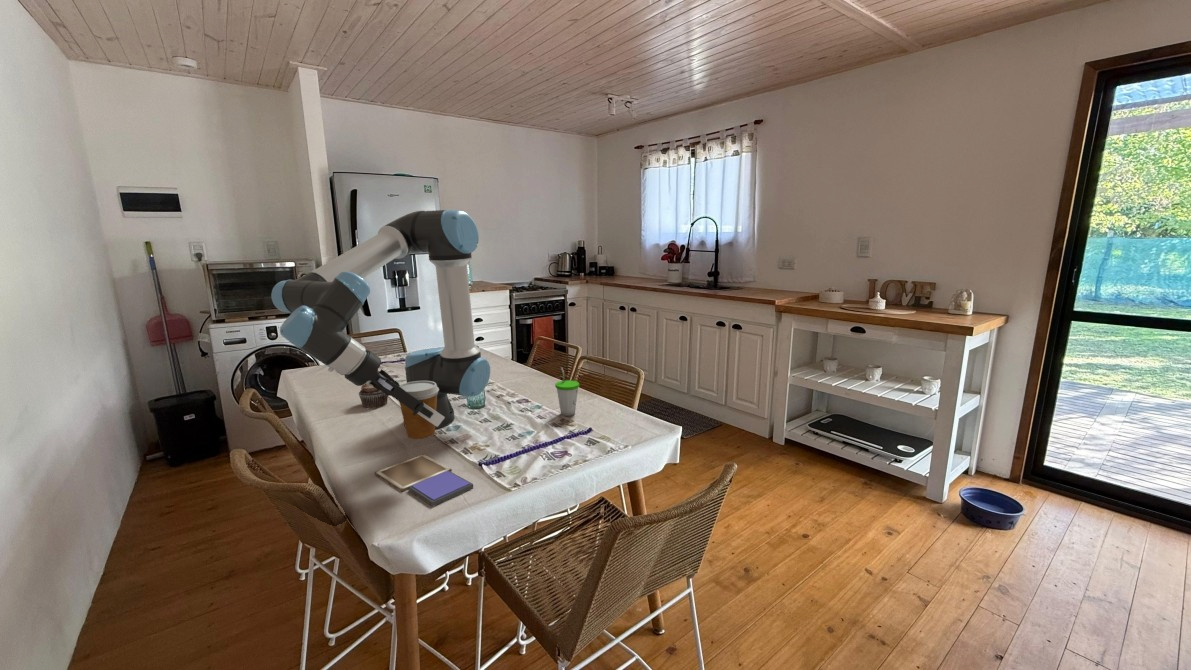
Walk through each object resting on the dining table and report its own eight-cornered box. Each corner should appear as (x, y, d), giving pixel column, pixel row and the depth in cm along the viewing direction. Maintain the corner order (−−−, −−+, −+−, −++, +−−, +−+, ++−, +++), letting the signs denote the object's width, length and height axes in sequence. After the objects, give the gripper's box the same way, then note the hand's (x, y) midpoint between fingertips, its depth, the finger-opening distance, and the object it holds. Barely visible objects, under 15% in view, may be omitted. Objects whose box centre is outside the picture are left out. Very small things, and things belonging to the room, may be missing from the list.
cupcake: (360, 402, 173) (357, 375, 171) (389, 398, 177) (387, 372, 175) (359, 411, 164) (356, 382, 162) (390, 406, 168) (388, 379, 166)
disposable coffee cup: (446, 425, 122) (443, 379, 119) (435, 441, 112) (431, 391, 110) (407, 426, 121) (403, 380, 119) (393, 442, 112) (389, 392, 110)
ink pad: (448, 474, 120) (448, 469, 120) (473, 487, 114) (473, 483, 114) (408, 490, 113) (408, 485, 113) (433, 506, 106) (432, 501, 106)
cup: (579, 418, 157) (578, 373, 154) (554, 418, 157) (553, 373, 154) (580, 409, 164) (579, 366, 161) (557, 409, 164) (556, 366, 161)
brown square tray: (423, 455, 130) (423, 453, 130) (451, 471, 122) (451, 468, 122) (375, 474, 121) (374, 471, 121) (401, 491, 112) (401, 489, 112)
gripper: (333, 366, 113) (409, 416, 125) (353, 388, 96) (439, 443, 109) (356, 340, 115) (429, 392, 127) (379, 358, 98) (460, 415, 111)
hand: (433, 416), depth 118 cm, fingers closed on disposable coffee cup, 9 cm apart
